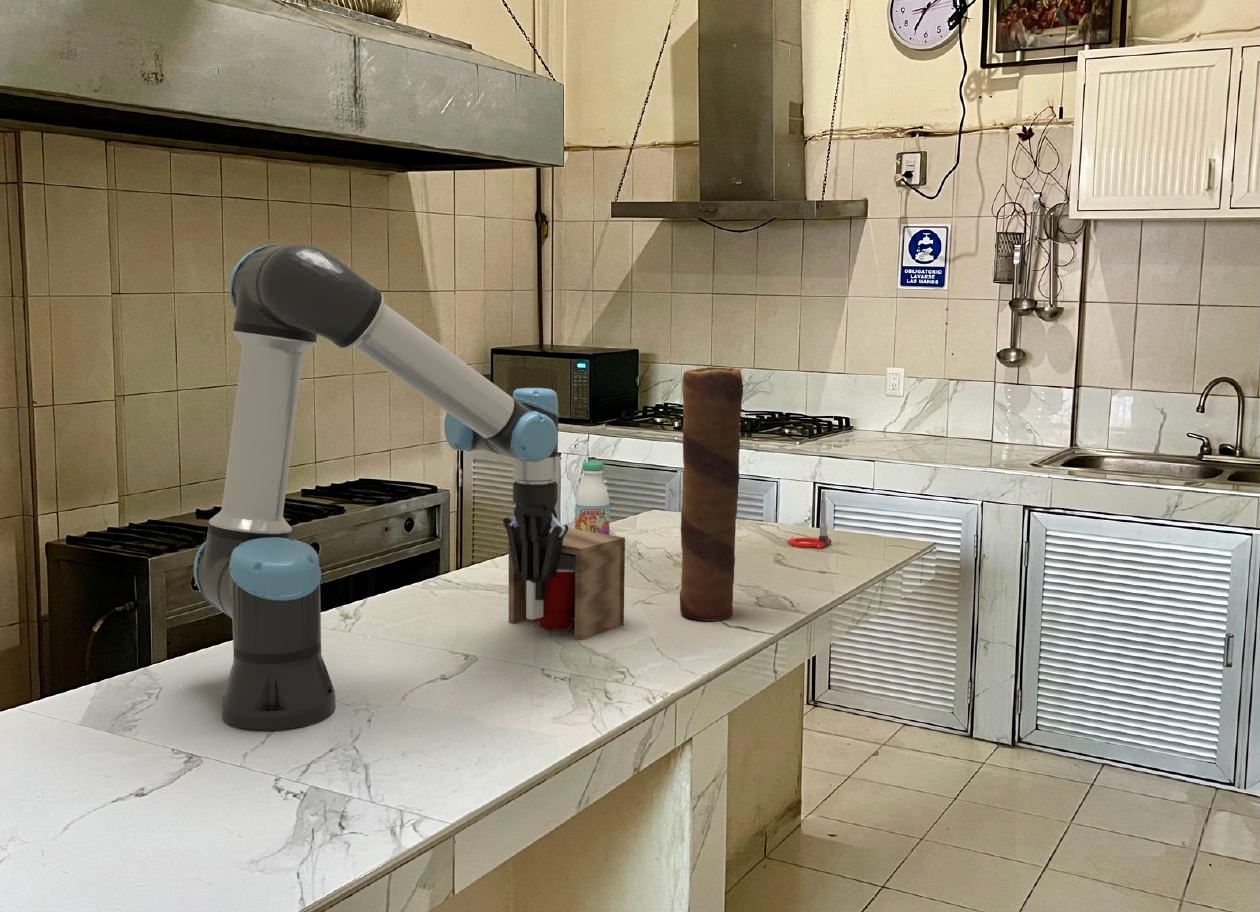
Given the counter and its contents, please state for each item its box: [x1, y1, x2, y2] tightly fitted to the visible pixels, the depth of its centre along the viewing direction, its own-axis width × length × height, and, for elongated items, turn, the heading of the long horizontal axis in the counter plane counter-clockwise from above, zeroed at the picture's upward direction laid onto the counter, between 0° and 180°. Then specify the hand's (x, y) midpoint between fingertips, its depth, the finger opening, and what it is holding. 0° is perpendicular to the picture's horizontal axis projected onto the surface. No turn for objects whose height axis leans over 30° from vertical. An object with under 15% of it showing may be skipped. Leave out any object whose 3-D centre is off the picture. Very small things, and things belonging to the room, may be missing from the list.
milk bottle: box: [574, 461, 611, 535], centre depth 270 cm, size 8×8×20 cm
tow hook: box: [787, 490, 832, 549], centre depth 281 cm, size 8×13×9 cm
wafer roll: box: [679, 366, 744, 621], centre depth 217 cm, size 10×11×45 cm
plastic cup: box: [537, 554, 575, 631], centre depth 210 cm, size 11×11×12 cm
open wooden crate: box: [508, 527, 626, 641], centre depth 212 cm, size 12×16×16 cm
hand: (534, 617), depth 206 cm, fingers closed
